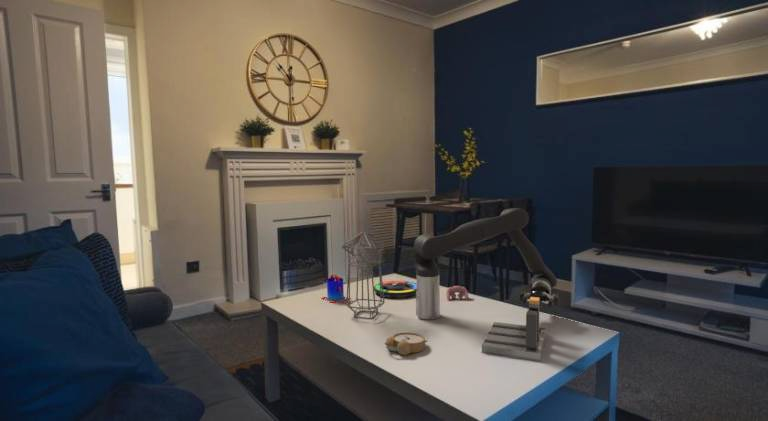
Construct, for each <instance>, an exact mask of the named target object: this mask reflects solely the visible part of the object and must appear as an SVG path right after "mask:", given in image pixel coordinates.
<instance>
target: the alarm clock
mask: <svg viewBox="0 0 768 421" xmlns="http://www.w3.org/2000/svg"><path fill="white" fill-rule="evenodd" d="M426 343H428V340H426V338H425V336H424V335H422V334H419V333H415V332H399V333H398V332H397V333H395V334H392V335H390V336H388V337H387V338H386V340H385V342H384V345H385V349H387V350H389V351H390V352H397V353H398V354H400V355H401V356H408V355H410V353H411V354H413V353H419V352H422V351H424V350H425V348H426V347H425V346H426Z"/></svg>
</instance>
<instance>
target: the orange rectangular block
mask: <svg viewBox="0 0 768 421" xmlns="http://www.w3.org/2000/svg"><path fill="white" fill-rule="evenodd" d="M528 304H529V305H530V304H539V305H540V298H538V297H530V300H529V302H528ZM529 305H528V306H529Z"/></svg>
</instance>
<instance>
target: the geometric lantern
mask: <svg viewBox="0 0 768 421" xmlns="http://www.w3.org/2000/svg"><path fill="white" fill-rule="evenodd" d="M363 236H364V237H365V240H366V242H362V238H363ZM375 240H377V241H378V242H377V241H375ZM357 243H358V246H357V247H356V245H357ZM386 244H387V245H388V242H386V241H384V240H382V239H380V238H378V237H376V236H374V235H372V234H370V233H369V232H367V231H361V232H360V233H358V234H357V235H355V236H354V237H352V238H351V239H349V240H347V241H346V242H344V243H343V244H342V245H340V247H341V248H342V249H343V250H344V251H345V252H347V254H348V255H347V256H348V257H347V258H348V260H347V261H348V263H347V281H346V282H347V283H346V285H347V286H346V287H347V288H346V298H347V300H346V301H345V302H346V305H345V306H346V307H347V308H348V309H350V310H351V311H352V312H353V318H360V319H361V318H362V319H369V320H370V319H374V318H375V317H376V316H377V315H378V314H379V308H381V307H382V306H383V305H384V304H385V303H386V302H385V297H384V292H383V282H384V281H383V276H382V265H381V263H382V252H383V250H384V247H385V246H386ZM365 245H368V246H365ZM361 246H362V247H361ZM349 249H350V250H349ZM354 249H357V252H358V253H354ZM379 249H380V250H379ZM360 250H363V251H362V252H360ZM369 251H371V252H372V253H373V254H374V255H373V257H372V260H365V258H366V257H367V254H368V252H369ZM364 253H365V254H364ZM350 254H351V257H350ZM362 254H364V255H363V256H362ZM377 255H379V259H378V257H377ZM356 256H360V258H361V260H359V259H357V257H356ZM353 257H354V258H355V261H353V262H351V261H352V258H353ZM374 259H376V260H374ZM363 262H364V263H365V265H363V264H364V263H363ZM367 262H369V263H370V264H369V265H368V263H367ZM355 263H357V264H355ZM359 263H361V265H359ZM372 263H375V264H373V265H372ZM377 265H378V275H379V276H378V277H379V283H380V295H379V296H380V299H376V294H375V291H374V286H375V285H374V284H375V283H374V275H373V274H374V273H373V267H375V266H377ZM351 267H356V297H355V300H353V301H352V302H351V300H350V298H351ZM359 267H361V298H358V297H359V296H358V292H359ZM364 268H366V283H367V284H366V285H367V286H366V287H367V289H366V290H367V298H364V272H363V271H364V270H363V269H364ZM369 268H370V272H371V284H372V296H373V299H370V288H369V285H370V284H369ZM381 285H382V294H383V296H382V294H381ZM348 297H349V300H348ZM359 301H361V304H360V302H359ZM363 301H367V306H365V307H364V305H363V304H364V302H363ZM370 301H372V302H373V306H370ZM355 302H357V305H358V306H351V305H352V304H354V303H355ZM376 302H379V303H378V304H377V305H376ZM354 309H355V310H354ZM357 310H359V311H357ZM359 313H360V314H369V317H367V316H366V317H365V316H357V315H359ZM374 313H375V314H374Z"/></svg>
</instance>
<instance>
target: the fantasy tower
mask: <svg viewBox="0 0 768 421" xmlns="http://www.w3.org/2000/svg"><path fill="white" fill-rule="evenodd" d="M326 294H327V297H326V296H322V297H321V298H320V299H323V300H322V301H326V300H327V301H326V302H328V301H329V302H328V304H329V303H333V304H332V305H335V304H336V303H339V301H340V302H344V301H343V300H345V301H347V296H345V294H344V278H343V277H339V276H338V275H337V274H331V275H330V277H329V278H327V279H326ZM325 298H326V299H325ZM345 298H346V299H345ZM324 299H325V300H324ZM350 299H351V300H352V298H351V297H350ZM348 301H349V296H348ZM334 303H335V304H334Z"/></svg>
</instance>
